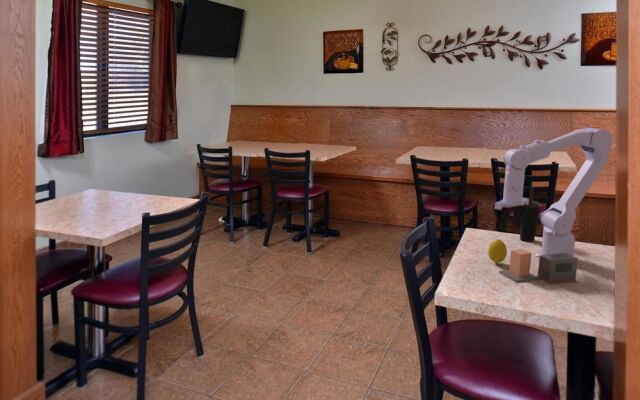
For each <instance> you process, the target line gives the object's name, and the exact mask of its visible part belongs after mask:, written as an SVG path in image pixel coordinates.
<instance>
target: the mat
mask: <svg viewBox="0 0 640 400" xmlns="http://www.w3.org/2000/svg"><path fill="white" fill-rule="evenodd" d="M498 271H499V274H501V275H502V276H504V277H505V278H507V279H509V280H511V281H513V282H515V283H521V282H531V281H532V282H533V281H539V280H540V279H539V277H537V276H538V275H535V274H533V273H531V272H530V274H529V276H524V277H517V276H515V275H512V274H510V273H509V269H505V270H498Z"/></svg>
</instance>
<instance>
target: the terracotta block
mask: <svg viewBox="0 0 640 400" xmlns="http://www.w3.org/2000/svg"><path fill="white" fill-rule="evenodd" d="M531 263H532V252H530V251H527V250H524V249H522V248H520V249H514V250H510V257H509V269H508V270H509V273H510V274H512V275H515V276H517V277H524V276H529V274H530V273H531Z"/></svg>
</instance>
